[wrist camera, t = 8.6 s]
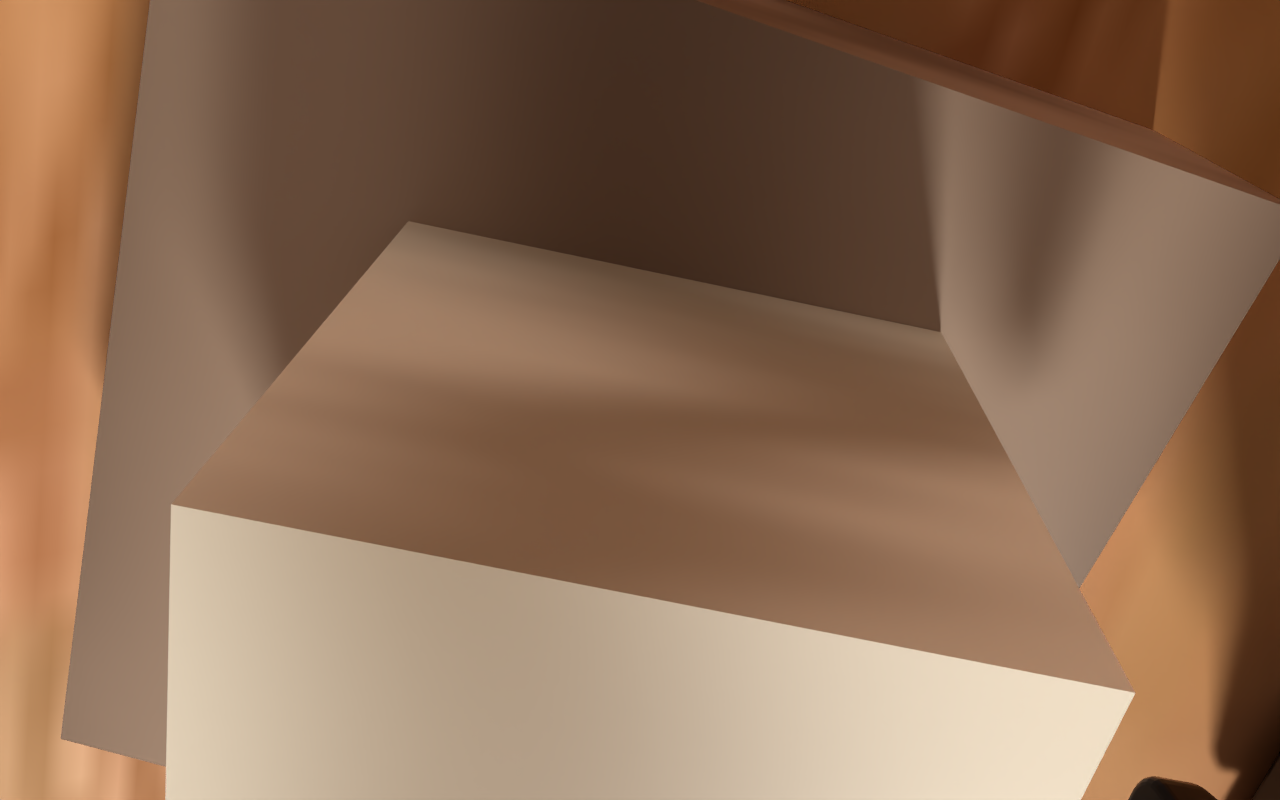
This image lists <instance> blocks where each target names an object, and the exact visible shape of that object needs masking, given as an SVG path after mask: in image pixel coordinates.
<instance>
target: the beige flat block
mask: <svg viewBox="0 0 1280 800" xmlns="http://www.w3.org/2000/svg"><path fill="white" fill-rule="evenodd" d="M408 221H410V222H415V223H420V224H425V225H429V226H434V227H439V228H444V229H449V230H453V231H458V232H463V233H468V234H473V235H478V236H482V237H487V238H492V239H497V240H502V241H506V242H511V243H516V244H521V245H526V246H531V247H535V248H540V249H545V250H550V251H555V252H559V253H564V254H569V255H574V256H579V257H583V258H588V259H593V260H598V261H603V262H607V263H612V264H617V265H622V266H627V267H631V268H636V269H641V270H646V271H650V272H655V273H660V274H665V275H670V276H674V277H679V278H684V279H689V280H694V281H698V282H703V283H708V284H713V285H717V286H722V287H727V288H732V289H737V290H741V291H746V292H751V293H756V294H761V295H765V296H770V297H775V298H780V299H784V300H789V301H794V302H799V303H804V304H808V305H813V306H818V307H823V308H828V309H832V310H837V311H842V312H847V313H851V314H856V315H861V316H866V317H871V318H875V319H880V320H885V321H890V322H895V323H899V324H904V325H909V326H914V327H918V328H923V329H928V330H933V331H938V332H941V333H942V335H943V336H944V338H945V340H946V342H947V344H948V346H949V348H950V349H951V351H952V353H953V355H954V357H955V359H956V361H957V362H958V364H959V366H960V368H961V370H962V372H963V374H964V375H965V377H966V379H967V381H968V383H969V385H970V387H971V388H972V390H973V392H974V394H975V396H976V398H977V400H978V401H979V403H980V405H981V407H982V409H983V411H984V413H985V414H986V416H987V418H988V420H989V422H990V424H991V426H992V427H993V429H994V431H995V433H996V435H997V437H998V439H999V440H1000V442H1001V444H1002V446H1003V448H1004V450H1005V452H1006V453H1007V455H1008V457H1009V459H1010V461H1011V463H1012V465H1013V466H1014V468H1015V470H1016V472H1017V474H1018V476H1019V478H1020V479H1021V481H1022V483H1023V485H1024V487H1025V489H1026V491H1027V492H1028V494H1029V496H1030V498H1031V500H1032V502H1033V504H1034V505H1035V507H1036V509H1037V511H1038V513H1039V515H1040V517H1041V518H1042V520H1043V522H1044V524H1045V526H1046V528H1047V530H1048V531H1049V533H1050V535H1051V537H1052V539H1053V541H1054V543H1055V544H1056V546H1057V548H1058V550H1059V552H1060V554H1061V556H1062V557H1063V559H1064V561H1065V563H1066V565H1067V567H1068V569H1069V570H1070V572H1071V574H1072V576H1073V578H1074V580H1075V582H1076V583H1077V585H1078V587H1079V588H1080V586H1081V585H1082V583H1083V581H1084V580H1085V578H1086V576H1087V575H1088V573H1089V572H1090V570H1091V568H1092V567H1093V565H1094V563H1095V562H1096V560H1097V558H1098V557H1099V555H1100V553H1101V552H1102V550H1103V549H1104V547H1105V545H1106V544H1107V542H1108V540H1109V539H1110V537H1111V535H1112V534H1113V532H1114V530H1115V529H1116V527H1117V526H1118V524H1119V522H1120V521H1121V519H1122V517H1123V516H1124V514H1125V512H1126V511H1127V509H1128V508H1129V506H1130V504H1131V503H1132V501H1133V499H1134V498H1135V496H1136V494H1137V493H1138V491H1139V489H1140V488H1141V486H1142V485H1143V483H1144V481H1145V480H1146V478H1147V476H1148V475H1149V473H1150V471H1151V470H1152V468H1153V466H1154V465H1155V463H1156V462H1157V460H1158V458H1159V457H1160V455H1161V453H1162V452H1163V450H1164V448H1165V447H1166V445H1167V443H1168V442H1169V440H1170V439H1171V437H1172V435H1173V434H1174V432H1175V430H1176V429H1177V427H1178V425H1179V424H1180V422H1181V421H1182V419H1183V417H1184V416H1185V414H1186V412H1187V411H1188V409H1189V407H1190V406H1191V404H1192V402H1193V401H1194V399H1195V398H1196V396H1197V394H1198V393H1199V391H1200V389H1201V388H1202V386H1203V384H1204V383H1205V381H1206V379H1207V378H1208V376H1209V375H1210V373H1211V371H1212V370H1213V368H1214V366H1215V365H1216V363H1217V361H1218V360H1219V358H1220V356H1221V355H1222V353H1223V352H1224V350H1225V348H1226V347H1227V345H1228V343H1229V342H1230V340H1231V338H1232V337H1233V335H1234V334H1235V332H1236V330H1237V329H1238V327H1239V325H1240V324H1241V322H1242V320H1243V319H1244V317H1245V315H1246V314H1247V312H1248V311H1249V309H1250V307H1251V306H1252V304H1253V302H1254V301H1255V299H1256V297H1257V296H1258V294H1259V292H1260V291H1261V289H1262V288H1263V286H1264V284H1265V283H1266V281H1267V279H1268V278H1269V276H1270V274H1271V273H1272V271H1273V269H1274V268H1275V266H1276V265H1277V263H1278V261H1279V260H1280V199H1278V198H1277V197H1275V196H1273V195H1271V194H1269V193H1267V192H1266V191H1264V190H1262V189H1260V188H1258V187H1256V186H1255V185H1253V184H1251V183H1249V182H1247V181H1245V180H1244V179H1242V178H1240V177H1238V176H1236V175H1235V174H1233V173H1231V172H1229V171H1227V170H1225V169H1224V168H1222V167H1220V166H1218V165H1216V164H1214V163H1213V162H1211V161H1209V160H1207V159H1205V158H1203V157H1202V156H1200V155H1198V154H1196V153H1194V152H1192V151H1191V150H1189V149H1187V148H1185V147H1183V146H1181V145H1180V144H1178V143H1176V142H1174V141H1172V140H1170V139H1169V138H1167V137H1165V136H1163V135H1161V134H1159V133H1158V132H1156V131H1154V130H1152V129H1149V128H1146V127H1143V126H1140V125H1138V124H1135V123H1132V122H1129V121H1126V120H1123V119H1121V118H1118V117H1115V116H1112V115H1109V114H1106V113H1104V112H1101V111H1098V110H1095V109H1092V108H1089V107H1087V106H1084V105H1081V104H1078V103H1075V102H1073V101H1070V100H1067V99H1064V98H1061V97H1058V96H1056V95H1053V94H1050V93H1047V92H1044V91H1041V90H1039V89H1036V88H1033V87H1030V86H1027V85H1024V84H1022V83H1019V82H1016V81H1013V80H1010V79H1007V78H1005V77H1002V76H999V75H996V74H993V73H990V72H988V71H985V70H982V69H979V68H976V67H973V66H971V65H968V64H965V63H962V62H959V61H956V60H954V59H951V58H948V57H945V56H942V55H939V54H937V53H934V52H931V51H928V50H925V49H922V48H920V47H917V46H914V45H911V44H908V43H906V42H903V41H900V40H897V39H894V38H891V37H889V36H886V35H883V34H880V33H877V32H874V31H872V30H869V29H866V28H863V27H860V26H857V25H855V24H852V23H849V22H846V21H843V20H840V19H838V18H835V17H832V16H829V15H826V14H823V13H821V12H818V11H815V10H812V9H809V8H806V7H804V6H801V5H798V4H795V3H792V2H789V1H787V0H150V4H149V12H148V21H147V29H146V37H145V45H144V54H143V62H142V70H141V79H140V87H139V95H138V103H137V112H136V120H135V128H134V137H133V145H132V153H131V161H130V170H129V178H128V186H127V195H126V203H125V211H124V219H123V228H122V236H121V244H120V252H119V261H118V269H117V277H116V286H115V294H114V302H113V310H112V319H111V327H110V335H109V344H108V352H107V360H106V368H105V377H104V385H103V393H102V402H101V410H100V418H99V426H98V435H97V443H96V451H95V459H94V468H93V476H92V484H91V493H90V501H89V509H88V517H87V526H86V534H85V542H84V551H83V559H82V567H81V575H80V584H79V592H78V600H77V609H76V617H75V625H74V633H73V642H72V650H71V658H70V666H69V675H68V683H67V691H66V700H65V708H64V716H63V724H62V733H61V739H64V740H67V741H71V742H75V743H79V744H82V745H86V746H90V747H94V748H98V749H101V750H105V751H109V752H113V753H116V754H120V755H124V756H128V757H131V758H135V759H139V760H143V761H146V762H150V763H154V764H158V765H161V766H165V767H166V743H167V691H168V639H169V586H170V534H171V504H172V503H173V501H174V500H175V499H176V498H177V497H178V495H179V494H180V493H181V492H182V491H183V490H184V488H185V487H186V486H187V485H188V484H189V482H190V481H191V480H192V479H193V478H194V476H195V475H196V474H197V473H198V472H199V470H200V469H201V468H202V467H203V466H204V464H205V463H206V462H207V461H208V460H209V458H210V457H211V456H212V455H213V454H214V453H215V451H216V450H217V449H218V448H219V447H220V445H221V444H222V443H223V442H224V441H225V439H226V438H227V437H228V436H229V435H230V433H231V432H232V431H233V430H234V429H235V427H236V426H237V425H238V424H239V423H240V421H241V420H242V419H243V418H244V417H245V416H246V414H247V413H248V412H249V411H250V410H251V408H252V407H253V406H254V405H255V404H256V402H257V401H258V400H259V399H260V398H261V396H262V395H263V394H264V393H265V392H266V390H267V389H268V388H269V387H270V386H271V384H272V383H273V382H274V381H275V380H276V379H277V377H278V376H279V375H280V374H281V373H282V371H283V370H284V369H285V368H286V367H287V365H288V364H289V363H290V362H291V361H292V359H293V358H294V357H295V356H296V355H297V353H298V352H299V351H300V350H301V349H302V347H303V346H304V345H305V344H306V343H307V342H308V340H309V339H310V338H311V337H312V336H313V334H314V333H315V332H316V331H317V330H318V328H319V327H320V326H321V325H322V324H323V322H324V321H325V320H326V319H327V318H328V316H329V315H330V314H331V313H332V312H333V310H334V309H335V308H336V307H337V306H338V305H339V303H340V302H341V301H342V300H343V299H344V297H345V296H346V295H347V294H348V293H349V291H350V290H351V289H352V288H353V287H354V285H355V284H356V283H357V282H358V281H359V279H360V278H361V277H362V276H363V275H364V273H365V272H366V271H367V270H368V269H369V268H370V266H371V265H372V264H373V263H374V262H375V260H376V259H377V258H378V257H379V256H380V254H381V253H382V252H383V251H384V250H385V248H386V247H387V246H388V245H389V244H390V242H391V241H392V240H393V239H394V238H395V236H396V235H397V234H398V233H399V232H400V231H401V229H402V228H403V227H404V226H405V225H406V223H407V222H408Z"/></svg>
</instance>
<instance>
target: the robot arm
mask: <svg viewBox="0 0 1280 800" xmlns="http://www.w3.org/2000/svg"><path fill="white" fill-rule="evenodd" d="M1129 800H1217V799H1216V798H1215V797H1214V796H1212V795H1211V794H1210V793H1209V792H1208V791H1206V790H1205V789H1204V788H1202V787H1200V786H1198V785H1196V784H1193V783H1189V782H1183V781H1178V780H1172V779H1167V778H1161V777H1156V776H1154V777H1147V778H1144V779H1143V780H1142V781H1140V782H1139V783H1138V784H1137V785H1136V787H1135V788H1134V790H1133V792H1132V794H1131V796H1130V798H1129ZM1252 800H1280V752H1279V754H1278V756H1277V758H1276V759H1275V761H1274V763H1273V764H1272V766H1271V768H1270V769H1269V771H1268V773H1267V775H1266V776H1265V778H1264V780H1263V781H1262V783H1261V785H1260V786H1259V788H1258V790H1257V792H1256V793H1255V795H1254V797H1253V798H1252Z"/></svg>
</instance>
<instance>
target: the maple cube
mask: <svg viewBox="0 0 1280 800" xmlns="http://www.w3.org/2000/svg"><path fill="white" fill-rule="evenodd" d="M1134 695H1135V691H1134V689H1133V688H1132V686H1131V684H1130V682H1129V680H1128V678H1127V676H1126V675H1125V673H1124V671H1123V669H1122V667H1121V665H1120V663H1119V661H1118V660H1117V658H1116V656H1115V654H1114V652H1113V650H1112V648H1111V647H1110V645H1109V643H1108V641H1107V639H1106V637H1105V635H1104V634H1103V632H1102V630H1101V628H1100V626H1099V624H1098V622H1097V621H1096V619H1095V617H1094V615H1093V613H1092V611H1091V609H1090V608H1089V606H1088V604H1087V602H1086V600H1085V598H1084V596H1083V595H1082V593H1081V591H1080V589H1079V587H1078V585H1077V583H1076V582H1075V580H1074V578H1073V576H1072V574H1071V572H1070V570H1069V569H1068V567H1067V565H1066V563H1065V561H1064V559H1063V557H1062V556H1061V554H1060V552H1059V550H1058V548H1057V546H1056V544H1055V543H1054V541H1053V539H1052V537H1051V535H1050V533H1049V531H1048V530H1047V528H1046V526H1045V524H1044V522H1043V520H1042V518H1041V517H1040V515H1039V513H1038V511H1037V509H1036V507H1035V505H1034V504H1033V502H1032V500H1031V498H1030V496H1029V494H1028V492H1027V491H1026V489H1025V487H1024V485H1023V483H1022V481H1021V479H1020V478H1019V476H1018V474H1017V472H1016V470H1015V468H1014V466H1013V465H1012V463H1011V461H1010V459H1009V457H1008V455H1007V453H1006V452H1005V450H1004V448H1003V446H1002V444H1001V442H1000V440H999V439H998V437H997V435H996V433H995V431H994V429H993V427H992V426H991V424H990V422H989V420H988V418H987V416H986V414H985V413H984V411H983V409H982V407H981V405H980V403H979V401H978V400H977V398H976V396H975V394H974V392H973V390H972V388H971V387H970V385H969V383H968V381H967V379H966V377H965V375H964V374H963V372H962V370H961V368H960V366H959V364H958V362H957V361H956V359H955V357H954V355H953V353H952V351H951V349H950V348H949V346H948V344H947V342H946V340H945V338H944V336H943V335H942V333H941V332H938V331H933V330H928V329H923V328H918V327H914V326H909V325H904V324H899V323H895V322H890V321H885V320H880V319H875V318H871V317H866V316H861V315H856V314H851V313H847V312H842V311H837V310H832V309H828V308H823V307H818V306H813V305H808V304H804V303H799V302H794V301H789V300H784V299H780V298H775V297H770V296H765V295H761V294H756V293H751V292H746V291H741V290H737V289H732V288H727V287H722V286H717V285H713V284H708V283H703V282H698V281H694V280H689V279H684V278H679V277H674V276H670V275H665V274H660V273H655V272H650V271H646V270H641V269H636V268H631V267H627V266H622V265H617V264H612V263H607V262H603V261H598V260H593V259H588V258H583V257H579V256H574V255H569V254H564V253H559V252H555V251H550V250H545V249H540V248H535V247H531V246H526V245H521V244H516V243H511V242H506V241H502V240H497V239H492V238H487V237H482V236H478V235H473V234H468V233H463V232H458V231H453V230H449V229H444V228H439V227H434V226H429V225H425V224H420V223H415V222H410V221H408V222H407V223H406V225H405V226H404V227H403V228H402V229H401V231H400V232H399V233H398V234H397V235H396V236H395V238H394V239H393V240H392V241H391V242H390V244H389V245H388V246H387V247H386V248H385V250H384V251H383V252H382V253H381V254H380V256H379V257H378V258H377V259H376V260H375V262H374V263H373V264H372V265H371V266H370V268H369V269H368V270H367V271H366V272H365V273H364V275H363V276H362V277H361V278H360V279H359V281H358V282H357V283H356V284H355V285H354V287H353V288H352V289H351V290H350V291H349V293H348V294H347V295H346V296H345V297H344V299H343V300H342V301H341V302H340V303H339V305H338V306H337V307H336V308H335V309H334V310H333V312H332V313H331V314H330V315H329V316H328V318H327V319H326V320H325V321H324V322H323V324H322V325H321V326H320V327H319V328H318V330H317V331H316V332H315V333H314V334H313V336H312V337H311V338H310V339H309V340H308V342H307V343H306V344H305V345H304V346H303V347H302V349H301V350H300V351H299V352H298V353H297V355H296V356H295V357H294V358H293V359H292V361H291V362H290V363H289V364H288V365H287V367H286V368H285V369H284V370H283V371H282V373H281V374H280V375H279V376H278V377H277V379H276V380H275V381H274V382H273V383H272V384H271V386H270V387H269V388H268V389H267V390H266V392H265V393H264V394H263V395H262V396H261V398H260V399H259V400H258V401H257V402H256V404H255V405H254V406H253V407H252V408H251V410H250V411H249V412H248V413H247V414H246V416H245V417H244V418H243V419H242V420H241V421H240V423H239V424H238V425H237V426H236V427H235V429H234V430H233V431H232V432H231V433H230V435H229V436H228V437H227V438H226V439H225V441H224V442H223V443H222V444H221V445H220V447H219V448H218V449H217V450H216V451H215V453H214V454H213V455H212V456H211V457H210V458H209V460H208V461H207V462H206V463H205V464H204V466H203V467H202V468H201V469H200V470H199V472H198V473H197V474H196V475H195V476H194V478H193V479H192V480H191V481H190V482H189V484H188V485H187V486H186V487H185V488H184V490H183V491H182V492H181V493H180V494H179V495H178V497H177V498H176V499H175V500H174V501H173V503H172V504H171V534H170V586H169V639H168V691H167V743H166V796H165V800H1081V798H1082V796H1083V794H1084V792H1085V790H1086V788H1087V787H1088V785H1089V783H1090V781H1091V779H1092V777H1093V775H1094V773H1095V771H1096V769H1097V767H1098V765H1099V763H1100V761H1101V759H1102V757H1103V755H1104V753H1105V751H1106V749H1107V747H1108V745H1109V743H1110V742H1111V740H1112V738H1113V736H1114V734H1115V732H1116V730H1117V728H1118V726H1119V724H1120V722H1121V720H1122V718H1123V716H1124V714H1125V712H1126V710H1127V708H1128V706H1129V704H1130V702H1131V700H1132V699H1133V697H1134Z"/></svg>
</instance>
